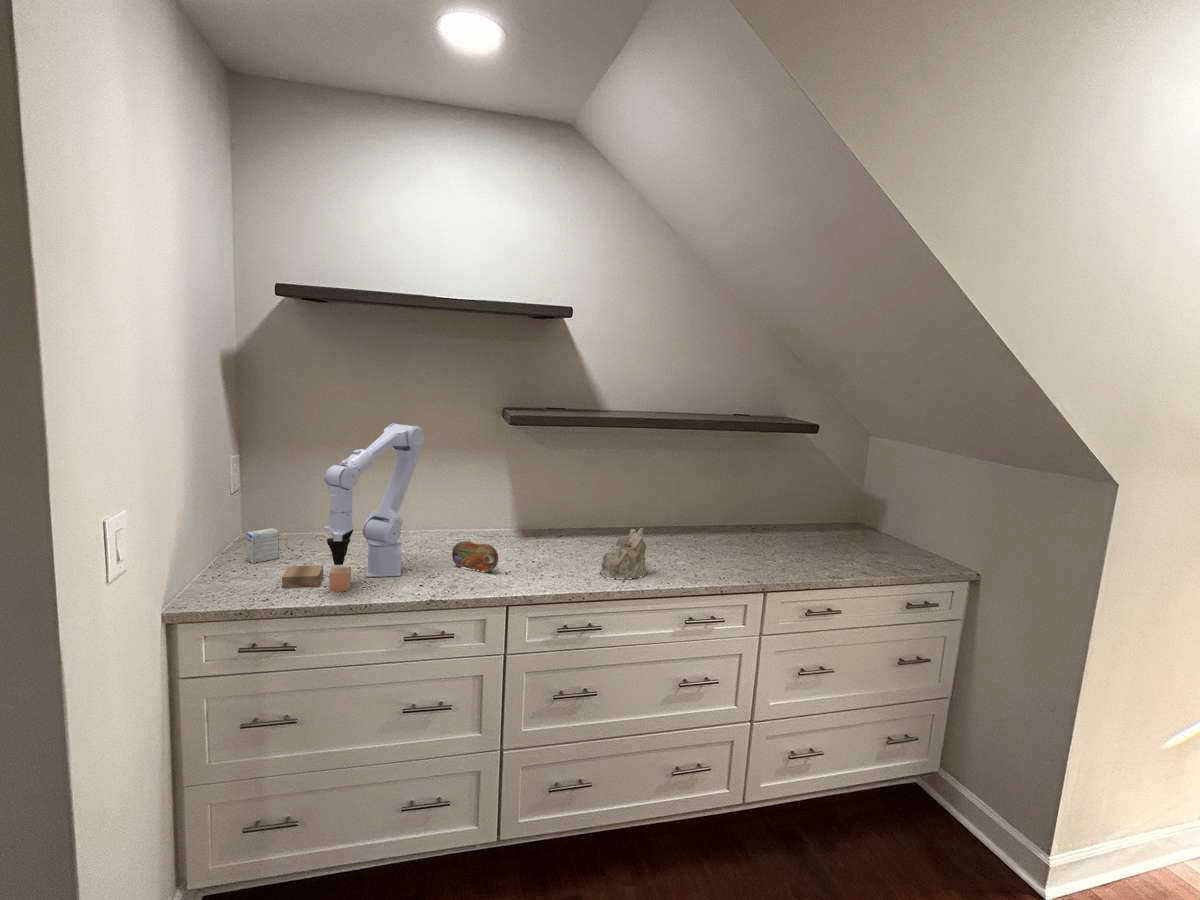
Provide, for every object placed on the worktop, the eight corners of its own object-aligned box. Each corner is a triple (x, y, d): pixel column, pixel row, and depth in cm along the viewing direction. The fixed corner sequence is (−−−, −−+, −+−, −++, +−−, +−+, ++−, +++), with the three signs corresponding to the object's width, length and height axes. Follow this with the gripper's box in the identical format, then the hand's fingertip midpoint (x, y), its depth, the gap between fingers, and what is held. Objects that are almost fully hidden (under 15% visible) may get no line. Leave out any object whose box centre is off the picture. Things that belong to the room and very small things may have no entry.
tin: (451, 566, 193) (451, 539, 192) (457, 563, 196) (457, 537, 195) (493, 575, 187) (494, 547, 186) (499, 572, 190) (500, 545, 189)
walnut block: (323, 575, 179) (323, 565, 178) (318, 586, 170) (318, 575, 170) (288, 576, 176) (288, 566, 176) (282, 588, 167) (282, 577, 167)
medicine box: (273, 555, 193) (273, 527, 192) (280, 558, 190) (279, 530, 189) (245, 560, 187) (245, 532, 186) (252, 564, 184) (251, 535, 183)
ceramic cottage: (635, 561, 209) (636, 517, 206) (654, 580, 193) (655, 533, 190) (590, 566, 204) (590, 521, 201) (605, 585, 189) (606, 537, 186)
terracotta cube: (351, 584, 173) (351, 566, 173) (349, 590, 169) (349, 572, 168) (331, 585, 172) (331, 567, 171) (329, 591, 167) (329, 573, 166)
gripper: (327, 504, 173) (327, 552, 175) (320, 517, 159) (320, 569, 161) (355, 504, 175) (354, 551, 177) (350, 517, 161) (350, 568, 163)
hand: (340, 560), depth 169 cm, fingers open, 7 cm apart
